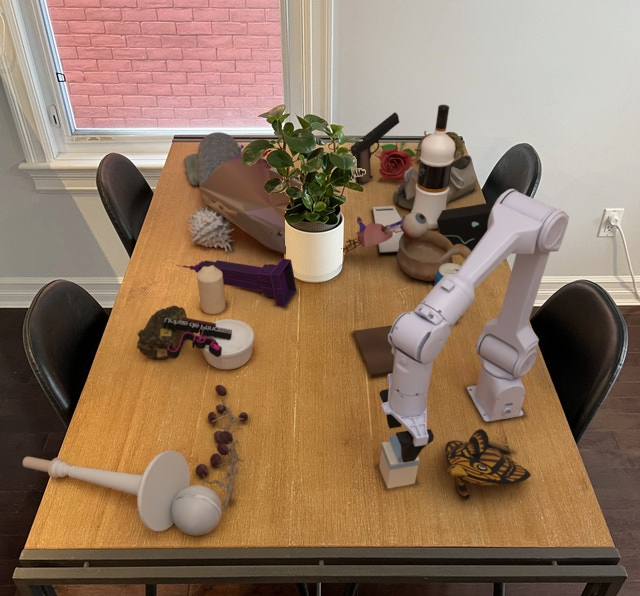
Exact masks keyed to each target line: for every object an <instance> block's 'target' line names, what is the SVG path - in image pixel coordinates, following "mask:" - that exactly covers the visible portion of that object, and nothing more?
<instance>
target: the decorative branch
mask: <svg viewBox="0 0 640 596" xmlns="http://www.w3.org/2000/svg"><path fill="white" fill-rule="evenodd" d="M215 392H216V394H217V395H218V396H219V397H224V399H221V402H222V404H221V403H220V404H219V403H218V404H217V405H216V406H215V411H216V412H217V413H218V414H220V416H219V417H218V416H217V413H215V411H210V412H209V413H208V414H207V419H208V422H210V423H215V422H217V421H219V420H221V419H223V418H226V417H229V418H228V422H227V423H226V425H225V426H221V425H220V426H219V425H215V426H213V427H214V428H216V429H219V430H216V431H215V432H214V434H213V438H214V442H216V447H215V448H216V451H217V453H212V454H211V456H210V457H209V458H210V459H209V463H210V466H211V467H212V468H215V469H217V468H220V467H221V466H224V465H228V468H227V470H226V472H227V474H226V475H225V477H224V478H223V479H224V481H226V480H227V478H228V477H229V478H228V479H229V481H228V483H227V482H221V481H219V480H218V479H214V480H212V481H208V480H207V479H206V477H207V476H208V474H209V468H208V466H207V465H205V463H199V464H197V466H195V467H196V468H195V473H196V475H197V476H198V477H200V478H203V479H204V481H205V483H207V484H208V485H209V484H210V485H212V484H214V483H216V484H217V485H218V487H220V488H227V489H226V493H225V497H224V498H225V499H224V504H223V508H222V511H223V512H224V513H225V512H226V511H227V508H228V505H229V502H231V501H232V497H233V491H234V486H235V483H236V480H235V478H236V477H237V475H238V474H239V467H238V464H237V462H244V459H241V458H239V455H238V451H237V449H236V448H235V444H236V443H237V445H238V446H240V443H239V441H238V440H235V441H234V437H233V434H234V433H235V432H236V431H237V430H243V428H242V427H235V428H234V429H233V430H232V431H230V428H231V427H232V425H233V424H235V423H237V422H238V421H240V422H246V421H247V420H248V419H249V415H248V413H247V412H244V411H242V412H240V413H239V415H238V417H237V416H234V415H233V413H232V411H231V407H232V404H230V406H229V407H228V406H227V405H226V402H225V400H226V398H227V394H228V390H227V388H226V387H225V386H224V385H221V384H217V385H216V386H215ZM227 412H228V413H227ZM226 413H227V414H226ZM228 445H229V446H228ZM222 456H223V457H225V456H228V457H229V456H230V461H225V462H223V458H222ZM233 470H234V471H233ZM233 472H234V473H233Z"/></svg>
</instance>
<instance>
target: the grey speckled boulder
mask: <svg viewBox="0 0 640 596" xmlns="http://www.w3.org/2000/svg"><path fill="white" fill-rule="evenodd" d="M240 147H241V146H240V145H239V143H238V141H236V139H235V138H234V137H233V136H231V135H230V134H228V133H225V132H219V131H217V132H215V131H214V132H211V133H209V134H207V135H206V136H204V137H203V139H201V141H200V143H199V145H198V147H197V154H198V169H199V185H198V186H199V188H200V187H201V185H202V184H203V183H204V182H205V181H206V180H207V179H208V178H209V176H210V175H211V174H212V173H213V172H214V171H215V170H216V169H217V168H218V166H219V165H220V164H222V163H224V162H226V161H228V160H230V159H232V158H234V157H236V156H238V155H240V154H241V152H242V151H241V150H242V149H241V150H240ZM200 194H201V196H202V197H203V195H202V193H201V192H200ZM212 209H213V208H212Z"/></svg>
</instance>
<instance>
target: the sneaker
mask: <svg viewBox="0 0 640 596" xmlns="http://www.w3.org/2000/svg"><path fill="white" fill-rule="evenodd" d="M477 182H478V177H477V175H476V169H475V167H474V162H473V158H472V156H471V155H468V154H464V156H462V157H460V158H458V159H456V160H454V161H453V162H452V168H451V174H450V180H449V191H448V194H447V201H446V205H447V204H448V205H449V203H451V202H454V201H456V200H457V199H459V198H461V197H463V196H466V195H469V194H471V193H473V192H474V191H475V189H476V187H477ZM406 199H407V198H403V196H399V190H398V188H396V189H395V190H394V192H393V194H392V202H393V203H394V204H397V206H399V207H401V208H403V209H407V210H411V211H412V209H413V205H414V201H415V197H414V198H413V199H410V201H407V200H406Z"/></svg>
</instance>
